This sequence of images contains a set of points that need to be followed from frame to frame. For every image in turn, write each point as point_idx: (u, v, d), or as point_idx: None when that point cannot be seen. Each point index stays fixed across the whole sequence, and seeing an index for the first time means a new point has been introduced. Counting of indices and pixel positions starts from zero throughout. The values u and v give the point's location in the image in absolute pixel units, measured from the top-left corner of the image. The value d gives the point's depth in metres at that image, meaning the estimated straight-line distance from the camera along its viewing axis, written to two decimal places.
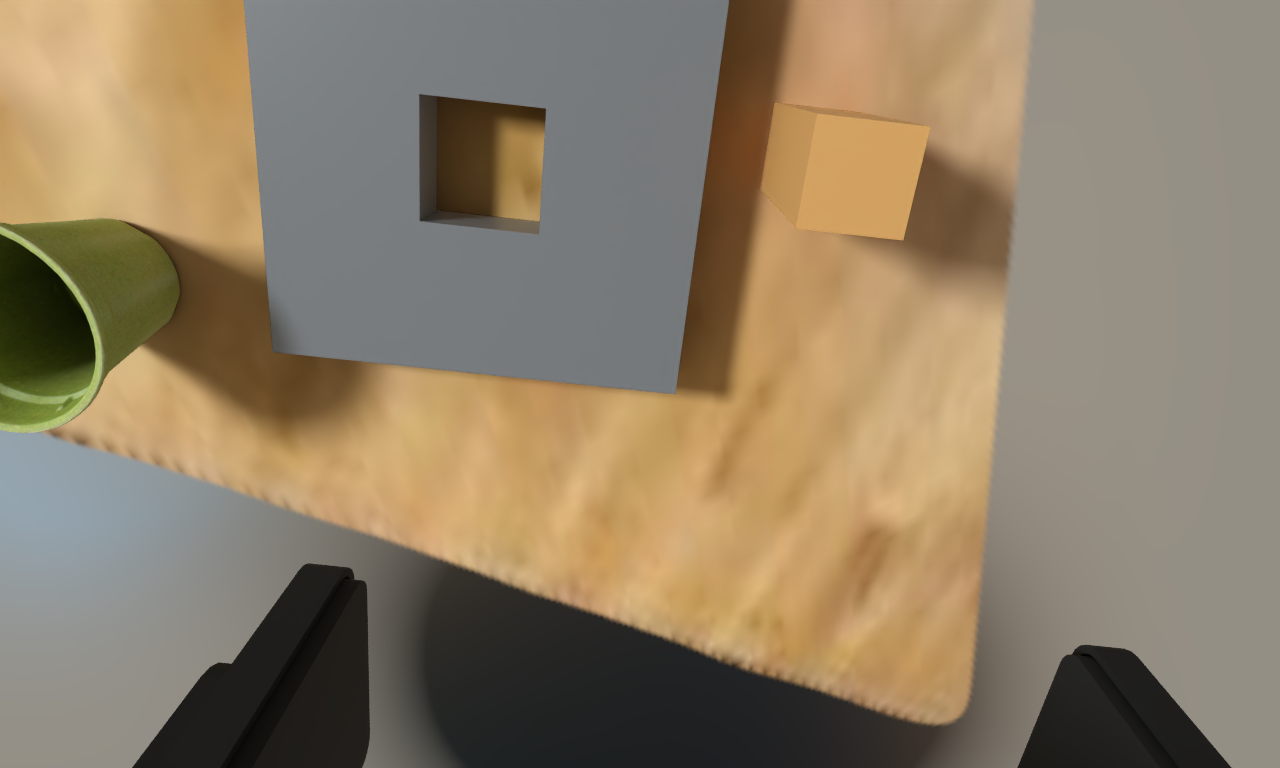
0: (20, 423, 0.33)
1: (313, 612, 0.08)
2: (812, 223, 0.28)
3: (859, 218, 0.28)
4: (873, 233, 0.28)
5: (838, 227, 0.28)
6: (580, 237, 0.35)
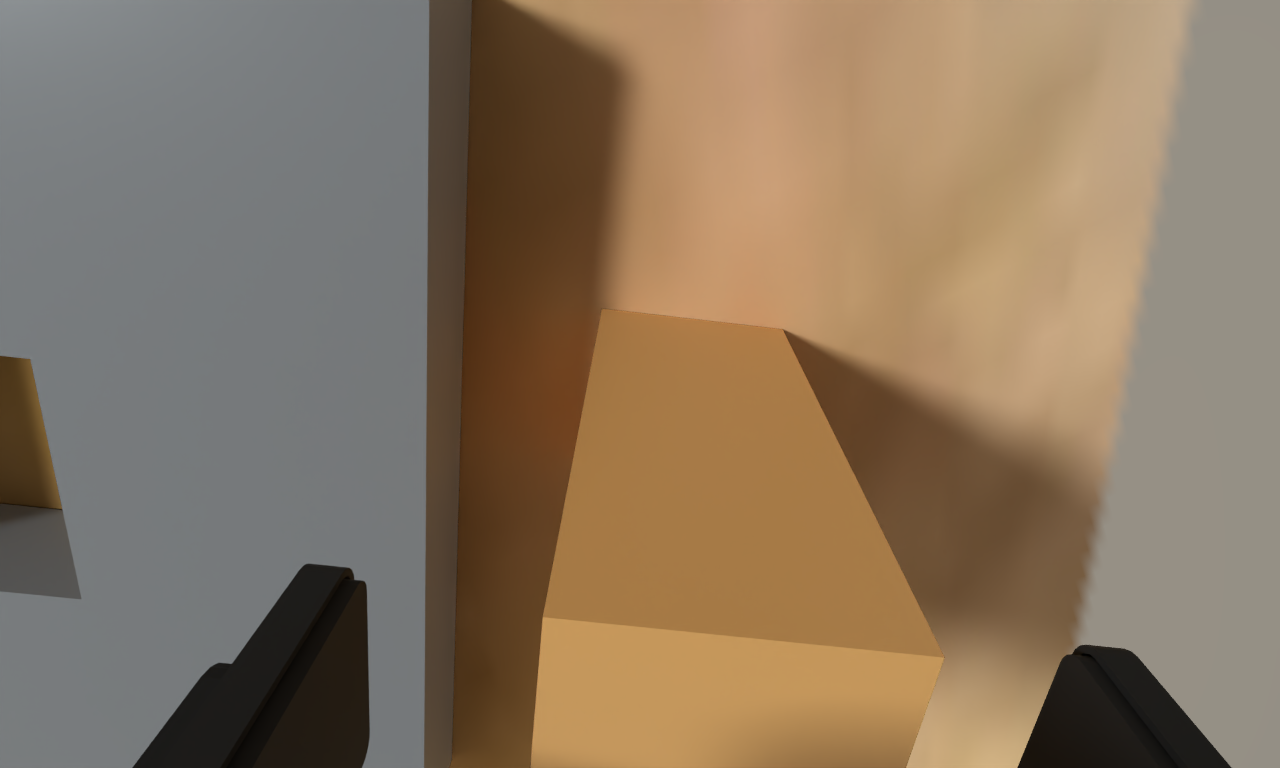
0: None
1: (313, 612, 0.08)
2: None
3: None
4: None
5: None
6: (172, 606, 0.16)
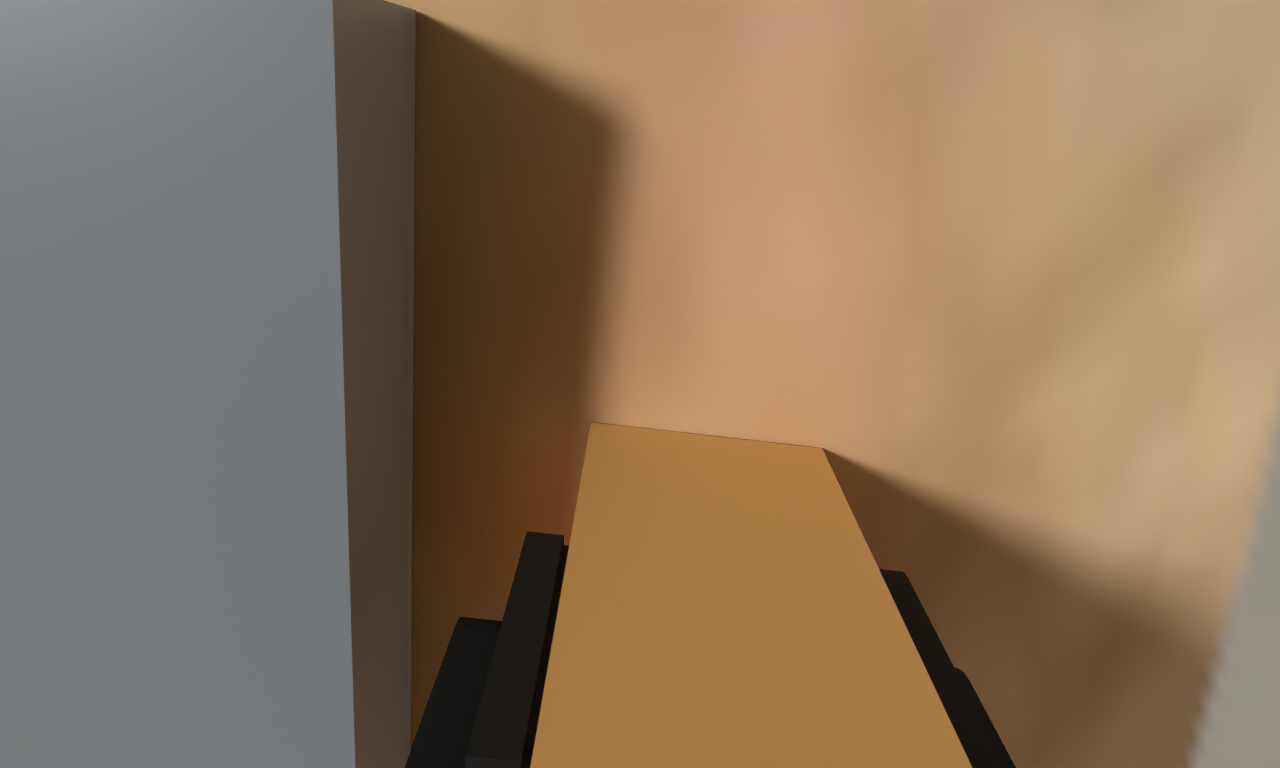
0: None
1: (552, 571, 0.10)
2: None
3: None
4: None
5: None
6: None
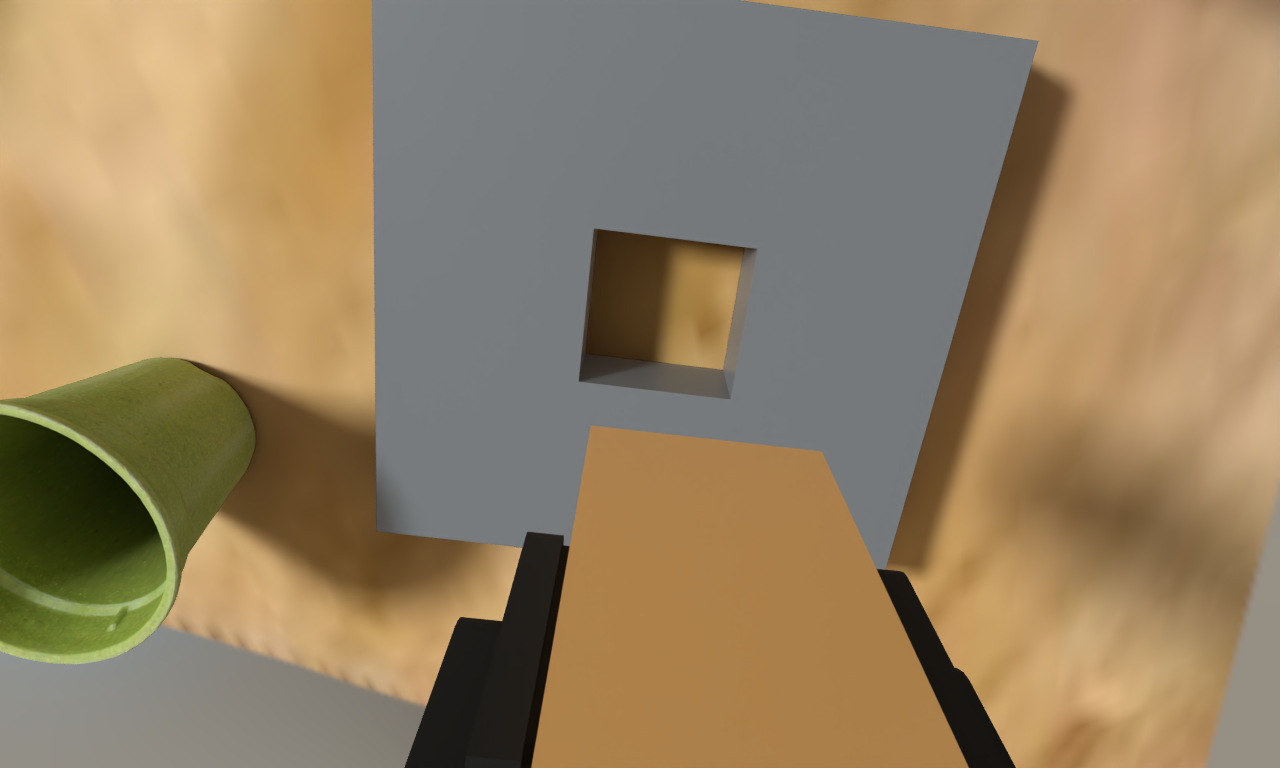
0: (60, 651, 0.25)
1: (552, 571, 0.10)
2: None
3: None
4: None
5: None
6: (783, 404, 0.27)
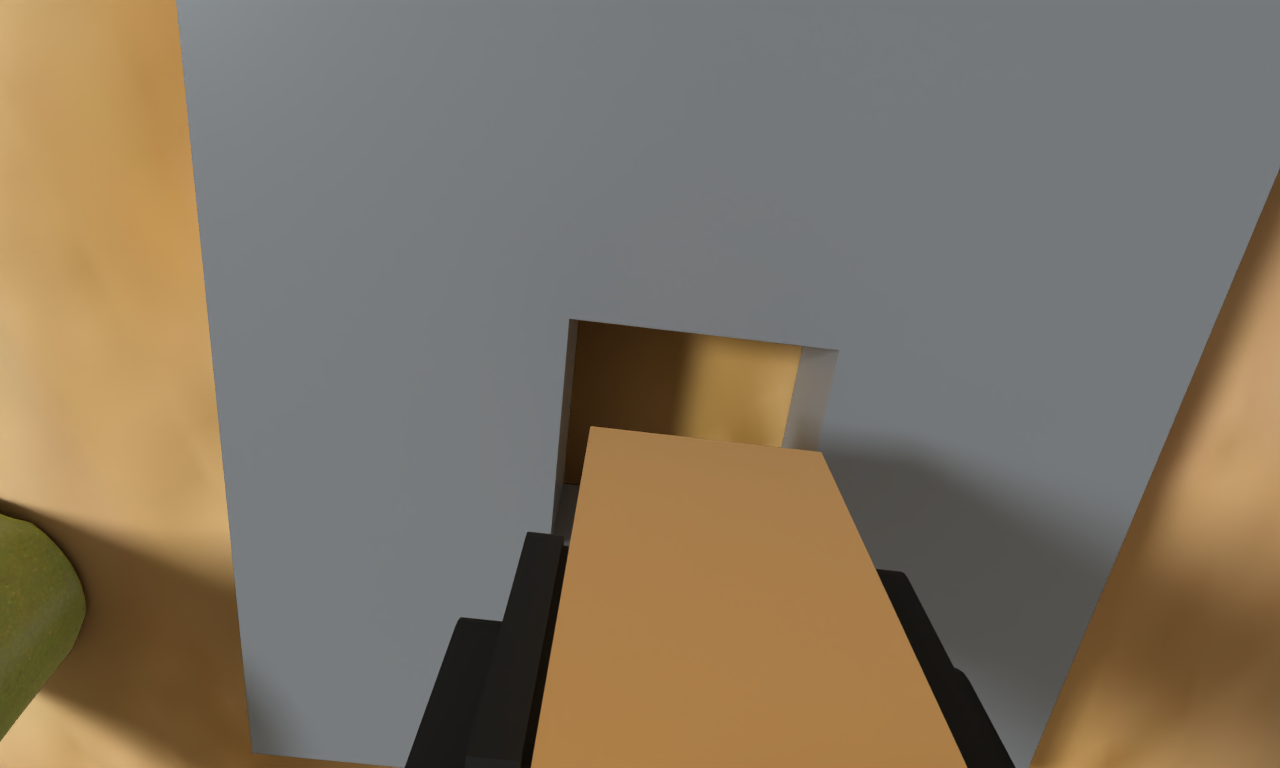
0: None
1: (552, 571, 0.10)
2: None
3: None
4: None
5: None
6: None
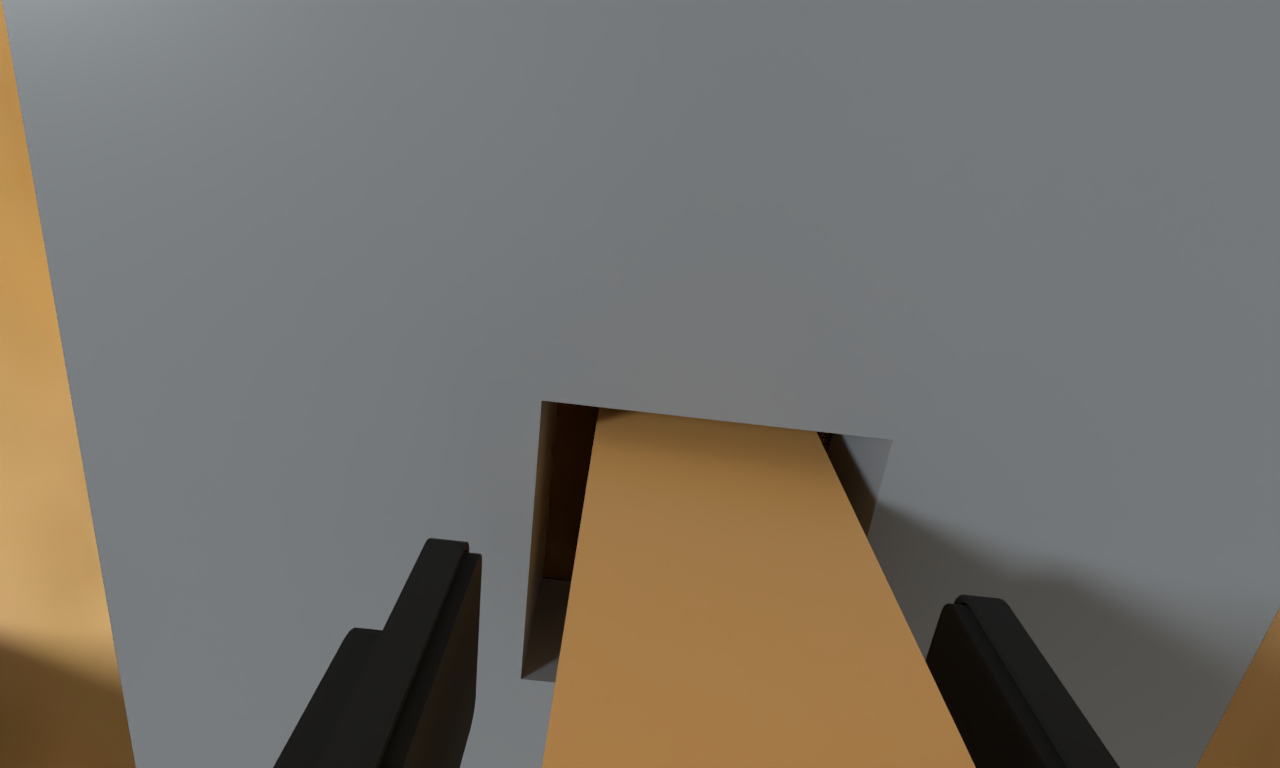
0: None
1: (446, 580, 0.09)
2: None
3: None
4: None
5: None
6: None
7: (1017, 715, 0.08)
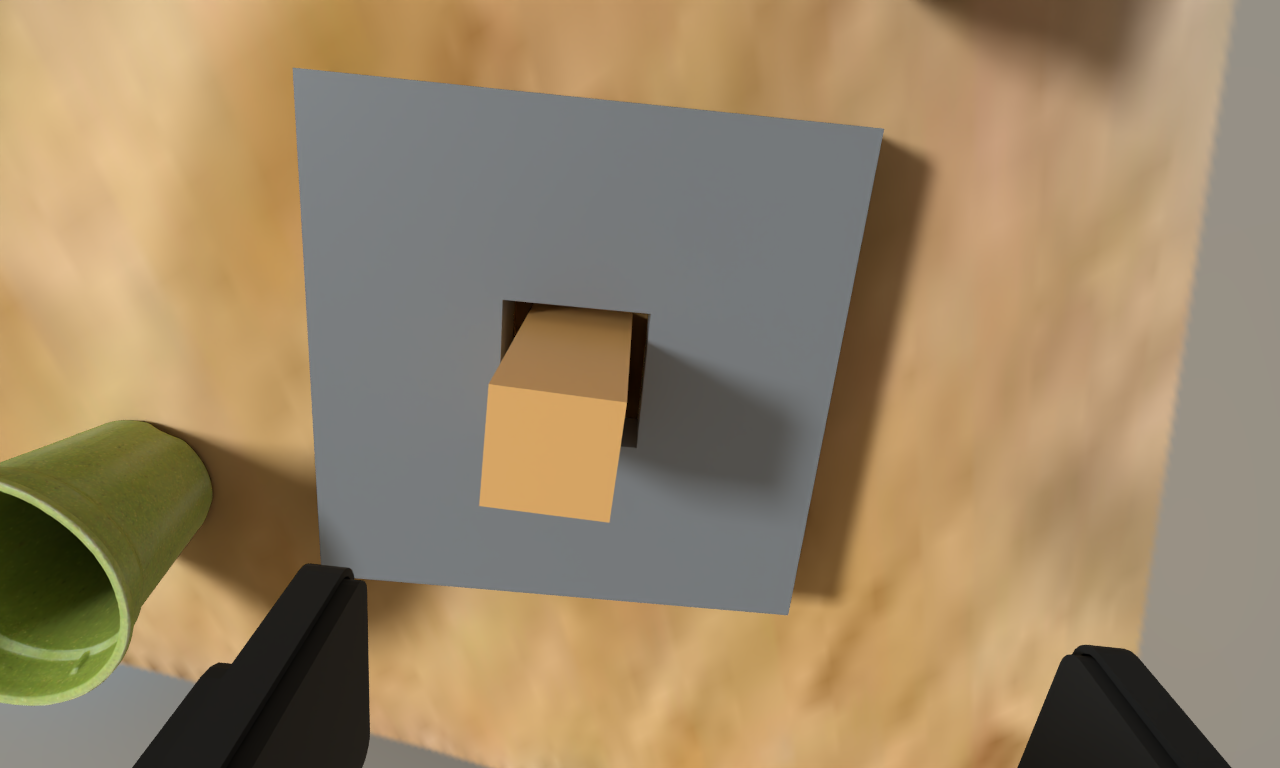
0: (26, 695, 0.28)
1: (313, 612, 0.08)
2: (498, 501, 0.23)
3: (553, 497, 0.23)
4: (573, 513, 0.23)
5: (530, 506, 0.23)
6: (685, 450, 0.30)
7: None
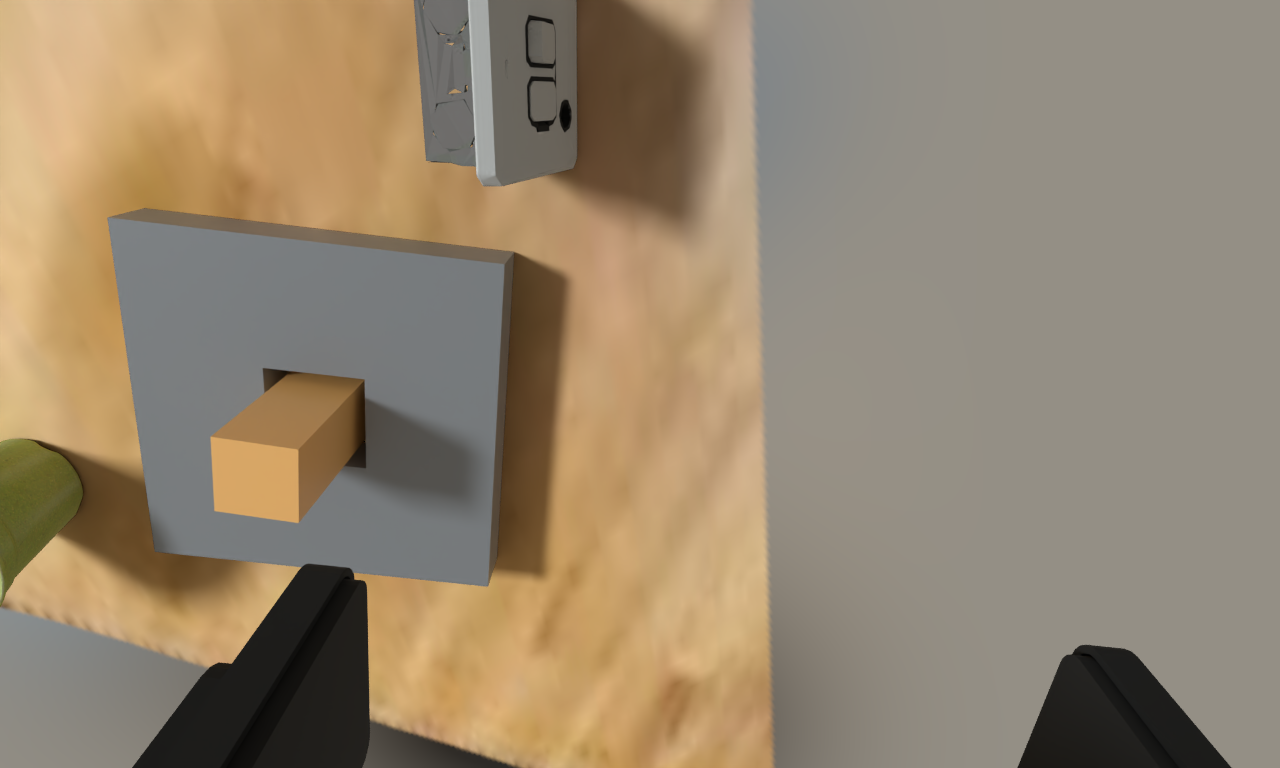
0: None
1: (313, 612, 0.08)
2: (226, 508, 0.36)
3: (261, 506, 0.36)
4: (275, 517, 0.36)
5: (246, 512, 0.36)
6: (399, 471, 0.43)
7: None
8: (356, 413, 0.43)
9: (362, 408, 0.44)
